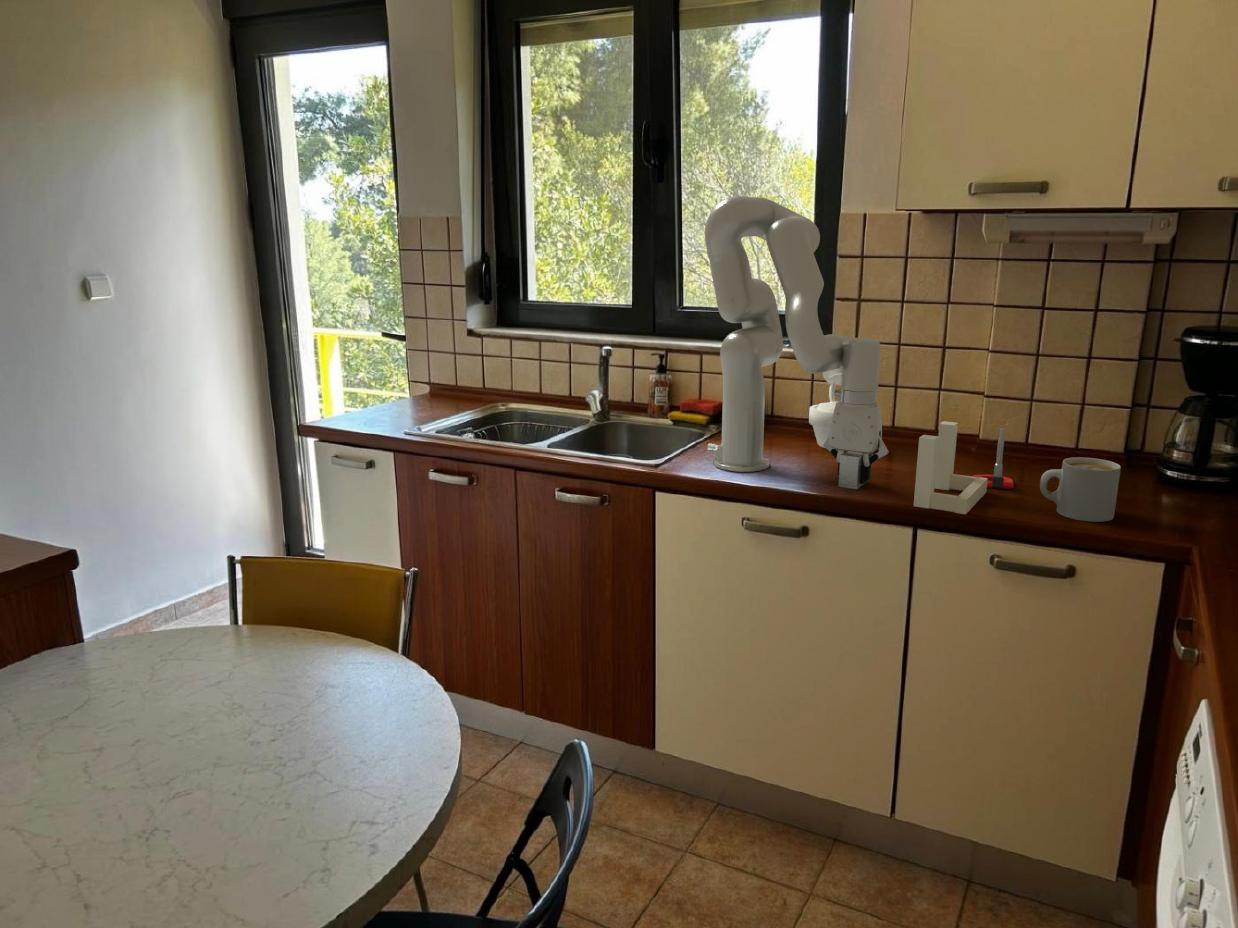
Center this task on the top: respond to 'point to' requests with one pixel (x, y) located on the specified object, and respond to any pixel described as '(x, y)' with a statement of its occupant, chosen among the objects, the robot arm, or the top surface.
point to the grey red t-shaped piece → (998, 469)
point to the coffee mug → (1084, 488)
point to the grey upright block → (850, 470)
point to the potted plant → (825, 408)
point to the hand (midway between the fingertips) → (853, 480)
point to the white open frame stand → (944, 474)
